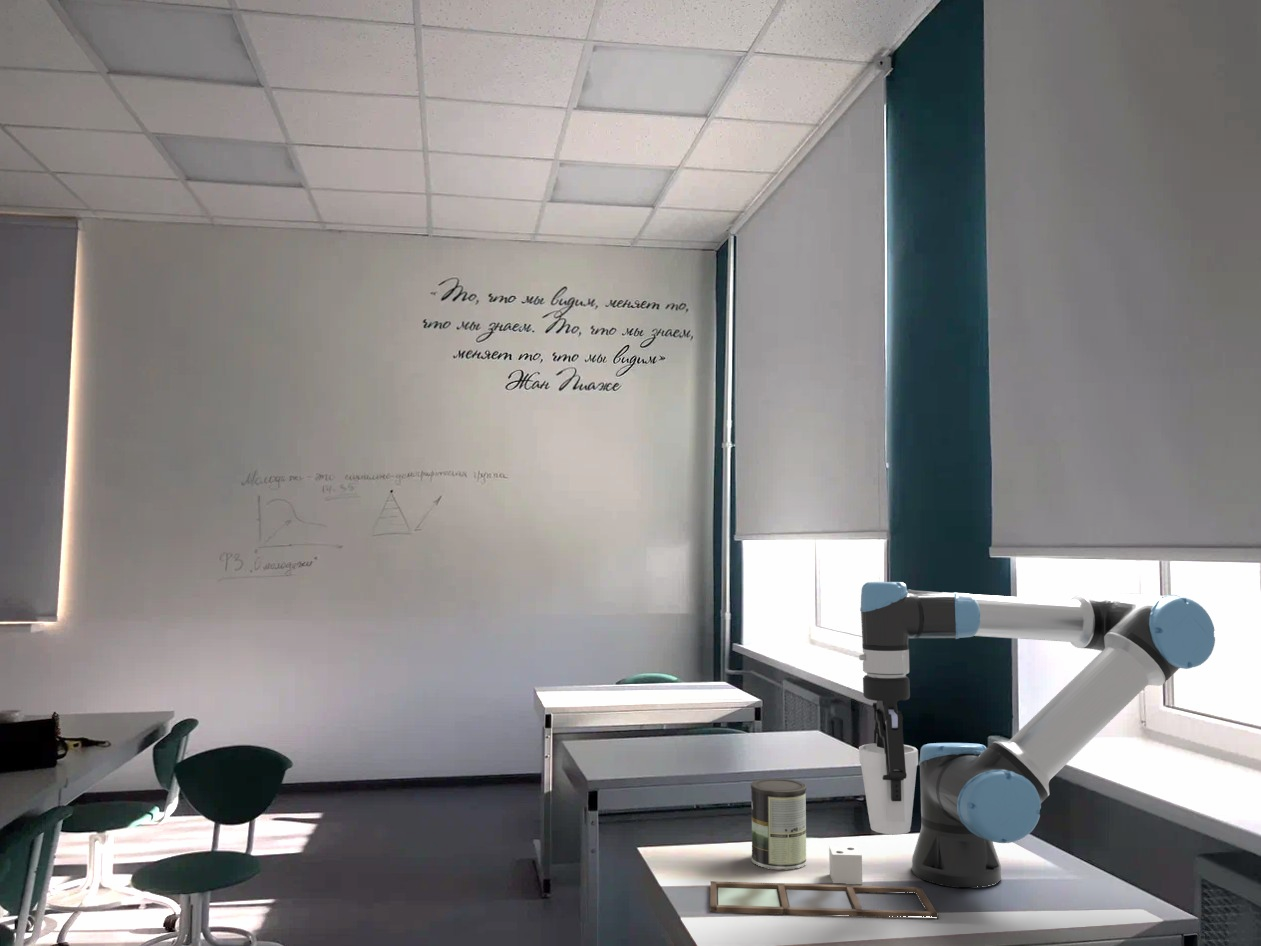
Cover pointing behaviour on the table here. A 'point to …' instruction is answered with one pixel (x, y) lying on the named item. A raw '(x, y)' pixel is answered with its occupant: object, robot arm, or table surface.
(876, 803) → the foam cup
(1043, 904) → the table surface
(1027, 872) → the table surface
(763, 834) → the coffee can
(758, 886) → the walnut frame
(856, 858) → the white die
